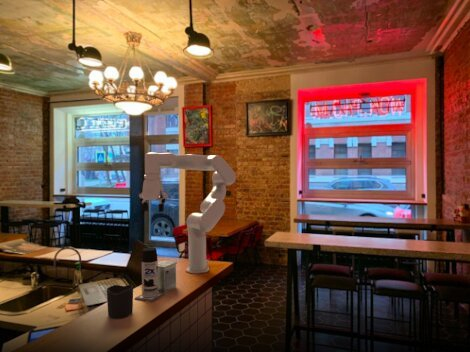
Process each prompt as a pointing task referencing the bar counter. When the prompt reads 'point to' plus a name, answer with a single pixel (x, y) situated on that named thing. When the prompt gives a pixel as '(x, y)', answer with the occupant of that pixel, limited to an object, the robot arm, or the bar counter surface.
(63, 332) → the bar counter surface
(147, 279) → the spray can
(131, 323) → the bar counter surface
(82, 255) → the bar counter surface
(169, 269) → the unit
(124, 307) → the pen holder
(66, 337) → the bar counter surface
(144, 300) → the pad
